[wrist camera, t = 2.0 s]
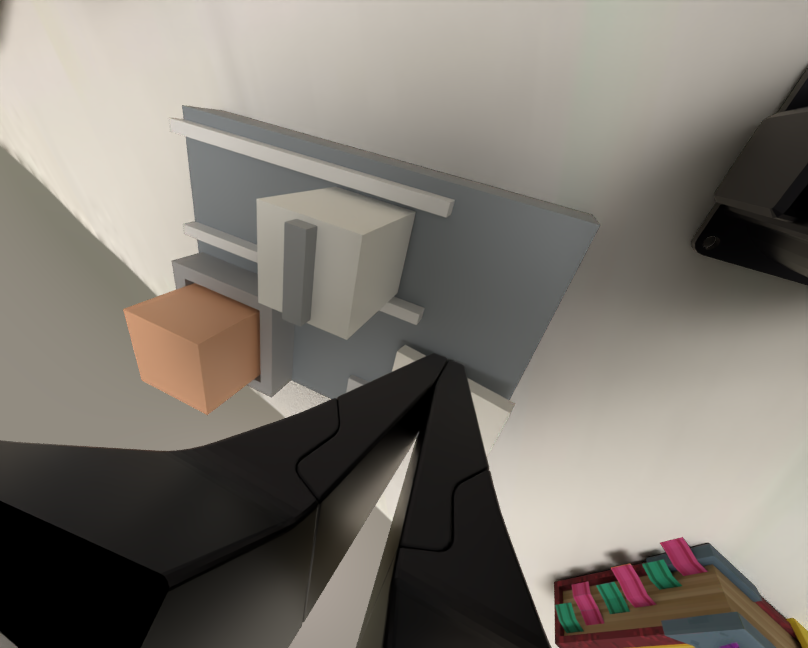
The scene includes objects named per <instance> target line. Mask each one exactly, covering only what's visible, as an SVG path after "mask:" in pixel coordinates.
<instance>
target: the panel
mask: <svg viewBox="0 0 808 648" xmlns="http://www.w3.org/2000/svg"><path fill="white" fill-rule="evenodd" d="M182 109H183V118H184V119H177V118H169V124H170V132H173V133H176V134H179V135H183V136H186V144H187V153H188V162H189V170H190V179H191V188H192V197H193V206H194V215H195V222H190V223H184V224H183V229H184V234H185V235H188V236H190V237H193V238H195V239H197V241H198V250H199V253H198V254H194V255H191V256H187V257H184V258H180V259H176V260H173V261H172V266H173V273H174V279H175V285H176V290H177V289H180V288H182V287H185V286H188V285H191V284H193V283H196V284H199V285H201V286H203V287H206V288H208V289H210V290H213V291H215V292H217V293H220V294H222V295H224V296H227V297H229V298H231V299H234V300H236V301H238V302H241V303H243V304H245V305H248V306H250V307H252V308H255V309H257V310H259V311H260V365H261V374H260V375H259V376H258V377H256V378H255V379H254V380H252V381H251V382H250V383H248V384H247V386H249V387H251V388H253V389H255V390H257V391H259V392H261V393H263V394H265V395H268V396H270V397H273V396H274V395H275V394H276V393H277V392H278V391H279V390H280V389H282V388H283V387H284V386H285V385H286V384H287V383H288V382H290V381H291V380H292V381H294V382H296V383H298V384H301V385H303V386H305V387H307V388H309V389H311V390H313V391H315V392H318V393H320V394H322V395H324V396H326V397H328V398H330V399H333V398H337V397H338V396H340V395H342V394H344V393H347V392H349V391H351V390H353V389H355V388H357V387H360V386H362V385H364V384H366V383H368V382H371V381H373V380H375V379H377V378H379V377H381V376H384V375H386V374H388V373H390V372H392V369H393V365H394V361H395V358H396V354H397V351H398V350H399V349H400V348H402V347H403V346H404V345H407V346H409V347H411V348H412V349H414V350H416V351H418V352H420V353H422V354H424V355H426V356H427V355H429V354H432V353H436V354H438V355H441V356H443V357H446V358H447V359H448V361H449V360H453V361H455V362H458V363H460V364H463V365H464V367H465V370H466V374H467V378H468V379H470V380H472V381H474V382H476V383H478V384H480V385H481V386H483V387H485V388H487V389H489V390H491V391H493V392H494V393H496V394H498V395H500V396H502V397H504V398H506V399H507V400H510V398H511V396H512V394H513V392H514V390H515V388H516V386H517V384H518V383H519V381H520V379H521V377H522V375H523V373H524V371H525V369H526V367H527V365H528V363H529V361H530V359H531V358H532V356H533V354H534V352H535V350H536V348H537V346H538V344H539V342H540V340H541V338H542V336H543V335H544V333H545V331H546V329H547V327H548V325H549V323H550V321H551V319H552V317H553V315H554V313H555V311H556V310H557V308H558V306H559V304H560V302H561V300H562V298H563V296H564V294H565V292H566V290H567V288H568V286H569V285H570V283H571V281H572V279H573V277H574V275H575V273H576V271H577V269H578V267H579V265H580V263H581V261H582V260H583V258H584V256H585V254H586V252H587V250H588V248H589V246H590V244H591V242H592V240H593V238H594V237H595V235H596V233H597V231H598V229H599V227H600V224H599V223H598V221H597V220H596V219H595V217H594V216H593V215H591V214H588V213H584V212H581V211H577V210H573V209H570V208H566V207H563V206H559V205H556V204H552V203H549V202H545V201H542V200H538V199H534V198H531V197H527V196H524V195H520V194H517V193H513V192H510V191H506V190H503V189H499V188H495V187H492V186H488V185H485V184H481V183H478V182H474V181H471V180H467V179H464V178H460V177H456V176H453V175H449V174H446V173H442V172H439V171H435V170H432V169H428V168H425V167H421V166H417V165H414V164H410V163H407V162H403V161H400V160H396V159H393V158H389V157H386V156H382V155H378V154H375V153H371V152H368V151H364V150H361V149H357V148H354V147H350V146H347V145H343V144H339V143H336V142H332V141H329V140H325V139H322V138H318V137H315V136H311V135H307V134H304V133H300V132H297V131H293V130H290V129H286V128H283V127H279V126H276V125H272V124H268V123H265V122H261V121H258V120H254V119H251V118H247V117H244V116H240V115H237V114H233V113H229V112H226V111H222V110H214V109H207V108H199V107H192V106H184V105H182ZM330 187H339V188H342V189H345V190H348V191H351V192H354V193H358V194H361V195H364V196H367V197H370V198H374V199H377V200H380V201H383V202H386V203H389V204H393V205H396V206H399V207H402V208H405V209H409V210H412V211H415V212H416V213H415V218H414V222H413V227H412V231H411V236H410V240H409V244H408V249H407V253H406V258H405V262H404V266H403V271H402V275H401V280H400V284H399V288H398V293H397V294H396V295H395V296H394V297H393V298H392V299H390V300H389V301H388V302H387V303H386V304H385V305H384V306H383V307H382V308H381V309H380V310H379V311H378V312H376V313H375V314H374V315H373V316H372V317H371V318H370V319H369V320H368V321H367V322H366V323H365V324H363V325H362V326H361V327H360V328H359V329H358V330H357V331H356V332H355V333H354V334H353V335H352V336H350V337H349V338H348V339H347V340H346V339H343V338H341V337H339V336H336V335H334V334H332V333H329V332H327V331H324V330H322V329H320V328H317V327H315V326H313V325H310V324H308V323H305V324H304V325H302V326H301V327H300V326H297V325H295V324H293V323H290V322H288V321H286V320H283V319H282V312H279V311H277V310H275V309H272V308H270V307H268V306H265V305H263V304H260V303H258V258H257V201H256V199H258V198H265V197H271V196H278V195H284V194H291V193H298V192H304V191H311V190H317V189H324V188H330ZM417 436H418V435H417ZM416 439H417V437H416Z"/></svg>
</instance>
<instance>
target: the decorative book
mask: <svg viewBox="0 0 808 648" xmlns="http://www.w3.org/2000/svg"><path fill="white" fill-rule="evenodd" d="M660 544H661V545H662V547H663V548H664V550H665V552H666V553H665V554H661V555H656V556H652V557H648V558H646V561H647V562H645V563H641V564H636V565H631V564H630V563H629V564H625V565H620V566H615V567H611V570H608V571H603V572H598V573H594V574H589V575H584V576H580V577H575V578H570V579H565V580H561V581H556V582H554V598H555V644H556V645H557V646H558V647H559V648H808V631H807V630H806V629H805V628H804V627H803V626H802V625H801V624H799V623H798V622H797V621H796V620H795V619H794V618H789V619H785V618H784V617H782V616H781V615H780V614H779V613H778V612H777V611H776V610H775V609H774V608H773V607H772V606H771V605H769V604H768V603H767V602H766V601H765V600H764V599H763V598H762V597H761V596H760V594H759V592H758V590H757V588H756V587H755V586H754V585H753V584H752V583H751V582H750V581H749V580H748V579H747V578H746V577H744V576H743V575H742V574H741V573H740V572H739V571H738V570H737V569H736V568H735V567H734V566H733V565H732V564H731V563H730V562H728V561H727V560H726V559H725V558H724V557H723V556H722V555H721V554H720V553H719V552H718V551H717V550H716V549H715V548H714V547H712V546H711V545H710V544H709V543H708V544H704V545H699V546H695V547H691V548H689V546H688V544H687V543H686V542H685V540H684V539H683V537H682V538H677V539H673V540H669V541H665V542H661V543H660Z"/></svg>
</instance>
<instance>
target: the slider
mask: <svg viewBox="0 0 808 648" xmlns="http://www.w3.org/2000/svg"><path fill="white" fill-rule="evenodd" d="M256 201H257V258H258V303H260V304H263V305H265V306H268V307H270V308H272V309H275V310H277V311H279V312H282V319H283V320H286V321H288V322H290V323H293V324H295V325H297V326H300V327H301V326H302V325H304V324H305V323H308V324H310V325H313V326H315V327H317V328H320V329H322V330H324V331H327V332H329V333H332V334H334V335H336V336H339V337H341V338H343V339H346V340H347V339H348V338H349V337H350V336H352V335H353V334H354V333H355V332H356V331H357V330H358V329H359V328H360V327H361V326H362V325H363V324H365V323H366V322H367V321H368V320H369V319H370V318H371V317H372V316H373V315H374V314H375V313H376V312H378V311H379V310H380V309H381V308H382V307H383V306H384V305H385V304H386V303H387V302H388V301H389V300H390V299H392V298H393V297H394V296H395V295H396V294H397V293H398V288H399V284H400V280H401V275H402V271H403V266H404V262H405V258H406V253H407V249H408V244H409V240H410V236H411V231H412V227H413V222H414V218H415V213H416V212H415V211H412V210H409V209H405V208H402V207H399V206H396V205H393V204H389V203H386V202H383V201H380V200H377V199H374V198H370V197H367V196H364V195H361V194H358V193H354V192H351V191H348V190H345V189H342V188H339V187H330V188H324V189H317V190H311V191H304V192H298V193H291V194H284V195H278V196H271V197H265V198H258V199H256Z"/></svg>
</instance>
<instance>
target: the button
mask: <svg viewBox="0 0 808 648" xmlns="http://www.w3.org/2000/svg"><path fill="white" fill-rule="evenodd" d="M123 310H124V314H125V318H126V322H127V325H128V329H129V333H130V336H131V340H132V345H133V348H134V352H135V356H136V360H137V364H138V367H139V371H140V375H141V379H142V381H144V382H146V383H148V384H150V385H152V386H153V387H155V388H157V389H159V390H161V391H163V392H165V393H167V394H169V395H171V396H173V397H174V398H176V399H178V400H180V401H182V402H184V403H186V404H188V405H189V406H191V407H193V408H195V409H197V410H199V411H201V412H203V413H205V414H206V415H208V414H209V413H211V412H212V411H213V410H215V409H216V408H217V407H218V406H220V405H221V404H222V403H224V402H225V401H226V400H228V399H229V398H230V397H231V396H233V395H234V394H235V393H237V392H238V391H239V390H241V389H242V388H243V387H244V386H246V385H247V384H248V383H250V382H251V381H252V380H254V379H255V378H256V377H258V376H259V375H260V374H261V365H260V311H259V310H257V309H255V308H252V307H250V306H248V305H245V304H243V303H241V302H238V301H236V300H234V299H231V298H229V297H227V296H224V295H222V294H220V293H217V292H215V291H213V290H210V289H208V288H206V287H203V286H201V285H199V284H196V283H193V284H191V285H188V286H185V287H182V288H180V289H177V290H174V291H171V292H169V293H166V294H163V295H160V296H158V297H155V298H152V299H150V300H147V301H144V302H141V303H138V304H136V305H133V306H130V307H128V308H125V309H123Z"/></svg>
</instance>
